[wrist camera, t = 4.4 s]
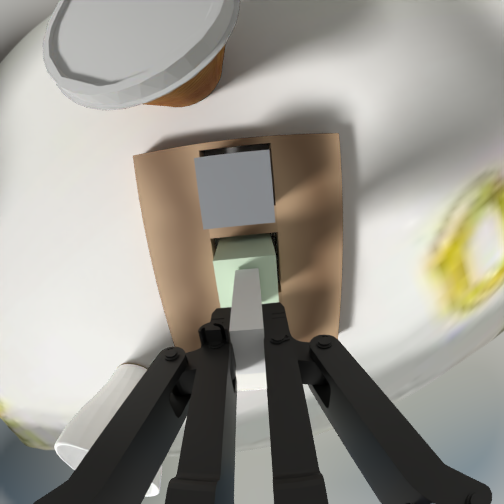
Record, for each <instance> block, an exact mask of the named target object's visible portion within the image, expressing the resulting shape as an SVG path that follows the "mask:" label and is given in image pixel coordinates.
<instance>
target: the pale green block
mask: <svg viewBox="0 0 504 504" xmlns="http://www.w3.org/2000/svg"><path fill="white" fill-rule="evenodd" d="M213 265H214V272H215V278H216V284H217V290H218V296H219V302H220V307H221V308H227V307H232V297H233V287H234V277H235V270H242V269H253V268H259V278H260V289H261V300H262V304H266V303H277V302H279V295H278V279H277V264H276V254H275V250H274V246H273V242H272V239H271V235H270V233H262V234H252V235H241V236H231V237H221V238H220V239H219V242H218V245H217V249H216V252H215V255H214V259H213Z"/></svg>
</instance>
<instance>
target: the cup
mask: <svg viewBox="0 0 504 504" xmlns="http://www.w3.org/2000/svg"><path fill="white" fill-rule="evenodd" d="M146 371H147V369H146V368H144V367H141V366H138V365H134V364H123V365H120V366H119V367H118V368H117V369H116V370H115V372H114V373H113V375H112V376H111V378H110V379H109V381H108V382H107V383H106V384H105V385H104V386H103V387H102V389H101V390H100V391H99V392H98V393H97V394H96V395H95V396H94V397H93V398H92V399H91V400H90V401H89V402H88V403H86V404H85V405H84V406H83V407H82V408H81V409H80V411H79V412H78V413H77V414H76V415H75V416H74V417H73V419H72V420H71V421H70V422H69V423H68V425H67V426H66V427H65V428H64V430H63V432H62V433H61V435H60V437H59V438H58V440H57V441H56V443H55V450H56V452H57V454H58V455H59V457H60V458H61V459H62V460H63V461H64V462H65V463H67V464H68V465H69V466H70V467H71V468H73V469H74V470H76V468H77V467H78V465H79V464H80V462H81V461H82V460H83V458H84V457H85V455H86V454H87V452H88V451H89V450H90V448H91V447H92V445H93V444H94V443H95V441H96V440H97V438H98V437H99V436H100V434H101V433H102V431H103V430H104V429H105V427H106V426H107V424H108V423H109V422H110V420H111V419H112V418H113V416H114V415H115V413H116V412H117V411H118V409H119V408H120V406H121V405H122V404H123V402H124V401H125V400H126V398H127V397H128V395H129V394H130V393H131V391H132V390H133V389H134V387H135V386H136V384H137V383H138V382H139V380H140V379H141V378H142V376H143V375H144V374H145V372H146ZM161 474H162V465H161V467H160V468H159V470H158V472H157V474H156V476H155V478H154V480H153V482H152V484H151V486H150V487H149V489H148V491H147V493H146V495H145V496H146V497H147V496H155V495H157V494H159V491H160V484H161Z"/></svg>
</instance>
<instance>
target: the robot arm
mask: <svg viewBox="0 0 504 504" xmlns="http://www.w3.org/2000/svg"><path fill="white" fill-rule="evenodd" d="M198 333H199V337H200V341H201V348H199V349H197V350H195V351H191V352H187V353H185V351H184V350H183V349H182V348H179V347H169V348H166V349H164V350H162V351H161V352H160V353H159V355H158V356H157V357H156V359H155V360H154V361H153V363H152V364H151V365H150V367H149V368H148V369H147V371H146V372H145V374H144V375H143V376H142V378H141V379H140V380H139V382H138V383H137V384H136V386H135V387H134V389H133V390H132V391H131V393H130V394H129V395H128V397H127V398H126V400H125V401H124V402H123V404H122V405H121V406H120V408H119V409H118V411H117V412H116V413H115V415H114V416H113V418H112V419H111V420H110V422H109V423H108V424H107V426H106V427H105V429H104V430H103V431H102V433H101V434H100V436H99V437H98V438H97V440H96V441H95V443H94V444H93V445H92V447H91V448H90V450H89V451H88V452H87V454H86V455H85V457H84V458H83V460H82V461H81V462H80V464H79V465H78V467H77V468H76V470H75V471H74V473H73V474H72V475H71V477H70V478H69V480H67V481H66V482H64V483H63V484H62V485H60V486H59V487H57V488H56V489H54V490H53V491H51V492H50V493H48V494H46V495H45V496H44V497H42V498H40V499H39V500H37V501H36V502H34V504H141V502H142V500H143V499H144V497H145V495H146V493H147V491H148V489H149V487H150V486H151V484H152V482H153V480H154V478H155V476H156V474H157V472H158V470H159V468H160V467H161V465H162V463H163V461H164V459H165V457H166V455H167V453H168V451H169V449H170V447H171V446H172V444H173V442H174V440H175V438H176V436H177V434H178V432H179V430H180V428H181V426H182V424H183V422H184V420H185V418H186V416H187V420H186V425H185V431H184V436H183V442H182V447H181V453H180V459H179V465H178V471H177V475H176V477H174V478H172V479H171V480H170V482H169V485H168V488H167V494H166V500H165V504H234V470H235V434H236V402H237V379H236V372H237V375H238V374H254V373H266V382H267V396H268V411H269V425H270V440H271V455H272V469H273V492H274V504H328V499H327V493H326V488H325V482H324V478H323V476H322V474H321V473H320V471H319V467H318V462H317V456H316V450H315V445H314V440H313V434H312V429H311V424H310V419H309V414H308V409H307V404H306V399H305V394H304V389H303V384H308V386H309V388H310V390H311V392H312V393H313V395H314V396H315V398H316V400H317V401H318V403H319V405H320V406H321V408H322V410H323V411H324V413H325V415H326V416H327V418H328V420H329V421H330V423H331V424H332V426H333V428H334V429H335V431H336V432H337V434H338V436H339V437H340V439H341V441H342V442H343V444H344V445H345V447H346V449H347V450H348V452H349V454H350V455H351V457H352V458H353V460H354V462H355V463H356V465H357V466H358V468H359V469H360V471H361V473H362V474H363V475H364V477H365V479H366V481H367V482H368V484H369V485H370V487H371V488H372V490H373V491H374V493H375V494H376V496H377V498H378V499H379V501H380V502H381V503H382V504H490V503H491V501H492V493H491V490H490V488H489V487H488V486H486V485H485V484H483V483H481V482H479V481H477V480H475V479H473V478H471V477H469V476H466V475H464V474H463V473H461V472H459V471H457V470H455V469H453V468H451V467H449V466H447V465H445V464H444V463H443V462H442V461H441V460H440V458H439V457H438V456H437V455H436V454H435V452H434V451H433V450H432V449H431V448H430V447H429V445H428V444H427V443H426V442H425V441H424V440H423V438H422V437H421V436H420V435H419V434H418V433H417V431H416V430H415V429H414V428H413V427H412V425H411V424H410V423H409V422H408V421H407V419H406V418H405V417H404V416H403V415H402V414H401V413H400V411H399V410H398V409H397V408H396V407H395V405H394V404H393V403H392V402H391V401H390V400H389V398H388V397H387V396H386V395H385V394H384V393H383V391H382V390H381V389H380V388H379V387H378V386H377V384H376V383H375V382H374V381H373V380H372V379H371V377H370V376H369V375H368V374H367V373H366V372H365V370H364V369H363V368H362V367H361V366H360V365H359V363H358V362H357V361H356V360H355V359H354V358H353V357H352V355H351V354H350V353H349V352H348V351H347V350H346V348H345V347H344V346H343V345H342V344H341V343H340V341H339V340H338V339H337V338H335V337H334V336H331V335H324V334H323V335H318V336H316V337H313V338H312V339H311V340H310V342H302V341H298V340H296V339H294V338H293V337H292V336H291V334H290V330H289V326H288V321H287V317H286V312H285V307H284V306H283V305H282V304H281V303H280V302H277V303H266V304H262V300H261V289H260V278H259V268H253V269H242V270H235V277H234V287H233V297H232V307H227V308H216V309H215V311H214V312H213V313H212V315H211V320H210V322H209V323H206V324H204V325H202V326H201V327H200V328H199V330H198Z"/></svg>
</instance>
